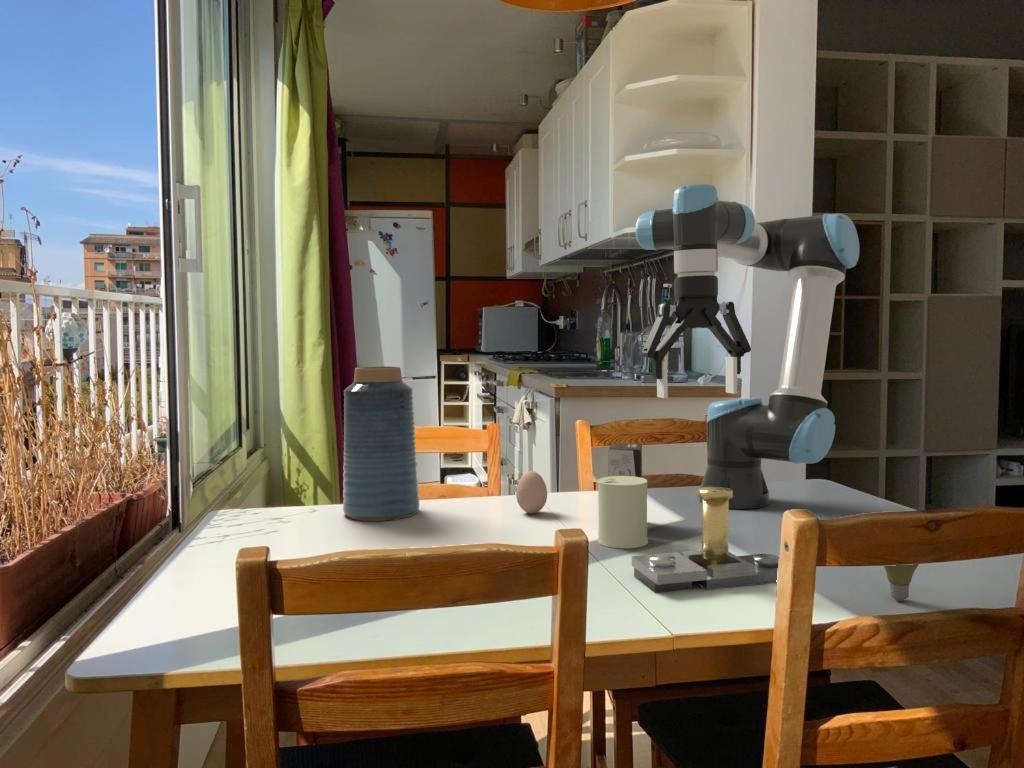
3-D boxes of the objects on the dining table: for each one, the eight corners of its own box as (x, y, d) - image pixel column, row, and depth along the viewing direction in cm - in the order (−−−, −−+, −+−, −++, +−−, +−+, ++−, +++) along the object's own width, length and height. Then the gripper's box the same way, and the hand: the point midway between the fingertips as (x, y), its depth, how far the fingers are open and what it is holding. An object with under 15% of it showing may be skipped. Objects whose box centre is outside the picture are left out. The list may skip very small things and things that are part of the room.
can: (588, 539, 153) (588, 475, 152) (631, 533, 156) (630, 471, 156) (613, 551, 144) (613, 484, 144) (657, 545, 148) (657, 479, 147)
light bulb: (870, 594, 119) (871, 527, 119) (906, 593, 120) (907, 526, 119) (890, 608, 114) (892, 537, 113) (929, 606, 114) (930, 536, 114)
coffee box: (641, 532, 157) (640, 449, 156) (607, 531, 158) (607, 448, 157) (643, 521, 166) (642, 442, 165) (611, 520, 167) (610, 442, 166)
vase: (327, 518, 172) (323, 369, 170) (369, 502, 187) (365, 365, 185) (395, 524, 166) (391, 370, 164) (432, 507, 181) (429, 365, 179)
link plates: (765, 562, 136) (766, 538, 136) (800, 580, 127) (801, 554, 126) (631, 574, 131) (631, 550, 130) (657, 594, 121) (657, 568, 121)
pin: (722, 571, 132) (722, 485, 131) (738, 581, 127) (738, 492, 126) (692, 574, 130) (692, 487, 129) (707, 584, 125) (708, 494, 124)
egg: (531, 518, 170) (530, 475, 169) (510, 513, 174) (509, 471, 174) (553, 513, 174) (553, 471, 173) (532, 508, 179) (532, 467, 178)
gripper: (747, 274, 150) (748, 389, 152) (621, 277, 144) (624, 397, 146) (770, 272, 143) (771, 392, 145) (639, 275, 136) (641, 401, 138)
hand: (697, 395), depth 145 cm, fingers open, 13 cm apart
